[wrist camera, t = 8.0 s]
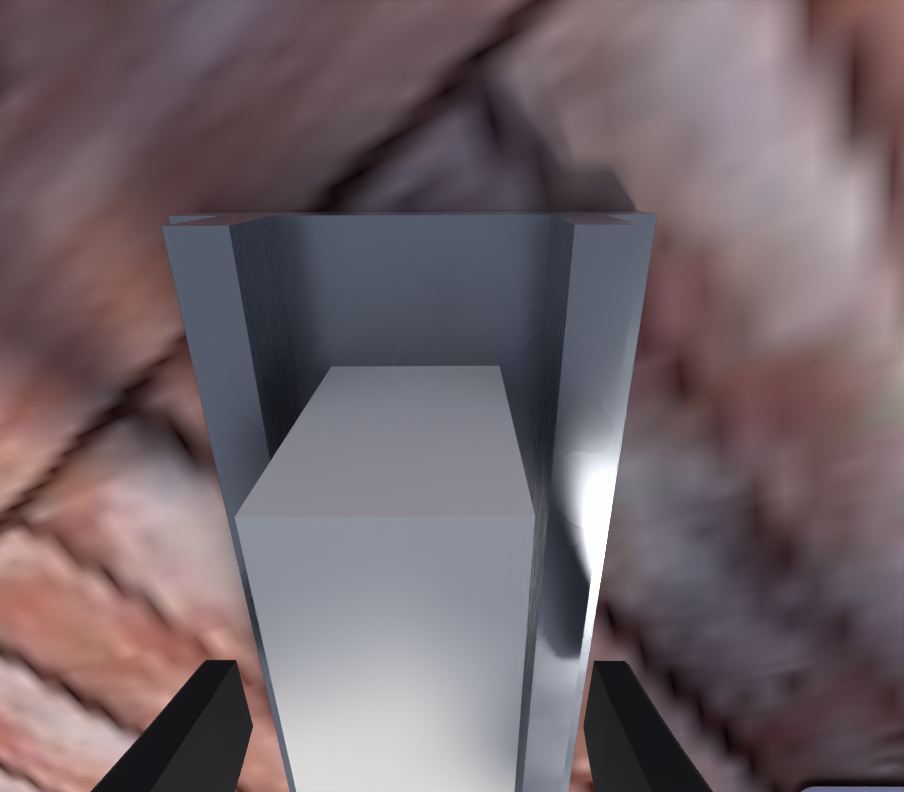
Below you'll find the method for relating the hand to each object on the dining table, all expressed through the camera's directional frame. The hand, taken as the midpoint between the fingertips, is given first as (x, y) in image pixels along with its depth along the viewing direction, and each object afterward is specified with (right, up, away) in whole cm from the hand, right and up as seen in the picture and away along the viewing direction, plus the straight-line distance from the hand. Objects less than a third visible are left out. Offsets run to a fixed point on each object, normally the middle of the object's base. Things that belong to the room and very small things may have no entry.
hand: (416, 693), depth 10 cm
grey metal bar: (0, +1, +3) cm, 3 cm away
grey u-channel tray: (0, +2, +4) cm, 4 cm away
